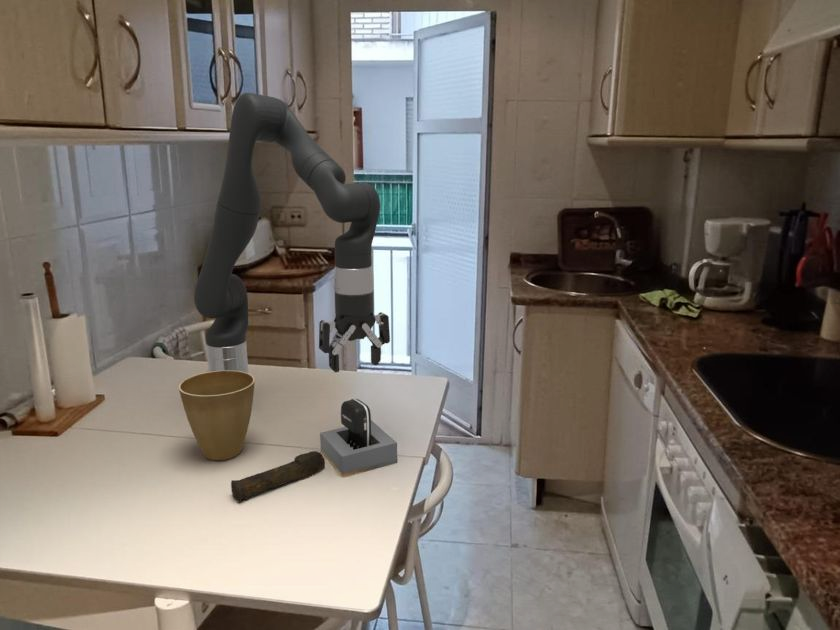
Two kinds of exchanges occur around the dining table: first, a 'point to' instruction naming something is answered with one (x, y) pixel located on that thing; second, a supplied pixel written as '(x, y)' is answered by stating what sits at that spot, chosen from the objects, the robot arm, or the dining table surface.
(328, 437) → the dock
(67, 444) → the dining table surface
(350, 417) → the battery charger
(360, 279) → the robot arm
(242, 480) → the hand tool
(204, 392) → the plant pot
